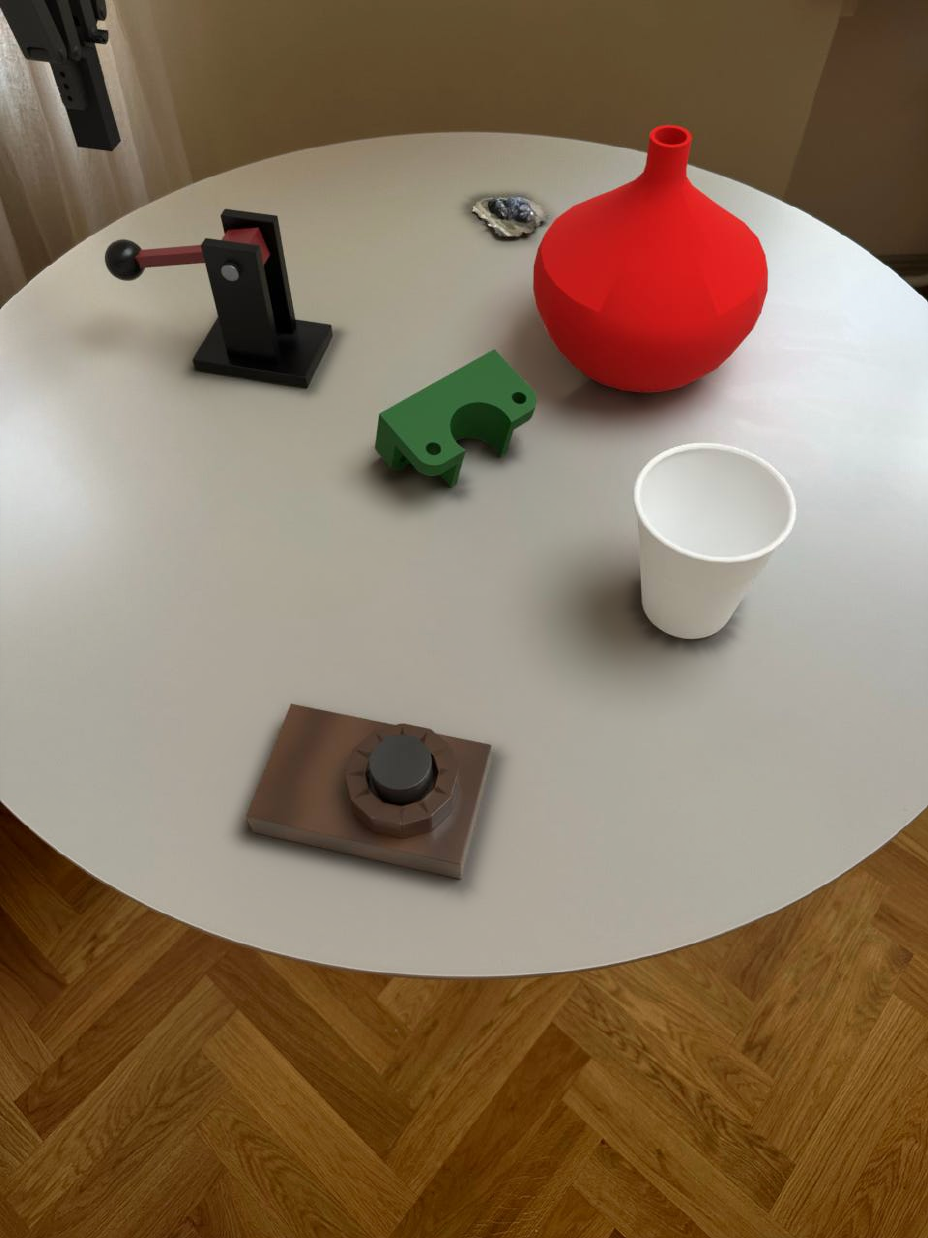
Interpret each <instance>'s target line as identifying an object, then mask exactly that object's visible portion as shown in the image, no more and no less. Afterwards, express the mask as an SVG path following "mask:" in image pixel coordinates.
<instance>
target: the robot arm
mask: <svg viewBox="0 0 928 1238" xmlns="http://www.w3.org/2000/svg"><path fill="white" fill-rule="evenodd" d="M0 10H1V13H2V14H3V16H4V19H5V21H6V23H7V25H8V27H9V28H10V30H11V32H12V35H13V37H14V39H15V41H16V43H17V45H18V47H19V49H20V51H21V53H22V55H23V57H24V59H26V60H27V61H33V62H34V61H35V62H42V63H43V62H44V63H49V66H50V68H51V71H52V75H53V78H54V80H55V85H56V88H57V90H58V93H59V97H60V100H61V103H62V105H63V106H64V108H65V111H66V114H67V118H68V121H69V124H70V127H71V130H72V134H73V137H74V140H75V143H76V147H77V148H81V149H82V148H83V149H90V150H97V151H105V152H113V151H114V150H115V149H116V148H117V146H119V144H120V143H121V142H122V140H121V135H120V132H119V128H118V125H117V121H116V117H115V113H114V110H113V106H112V104H111V103H112V102H111V99H110V96H109V92H108V88H107V84H106V82H105V81H106V80H105V76H104V72H103V69H102V65H101V61H100V56H99V53H98V50H97V46H96V44H98V45H107V44H108V42H109V38H110V37H109V36H110V35H109V34H110V33H109V30H108V29H100V28H99V27H98V25H97V24H98V22H99V21H100V22H105V21H106V19H107V18H108V17H107V16H108V9H107V3H106V0H0Z"/></svg>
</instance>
